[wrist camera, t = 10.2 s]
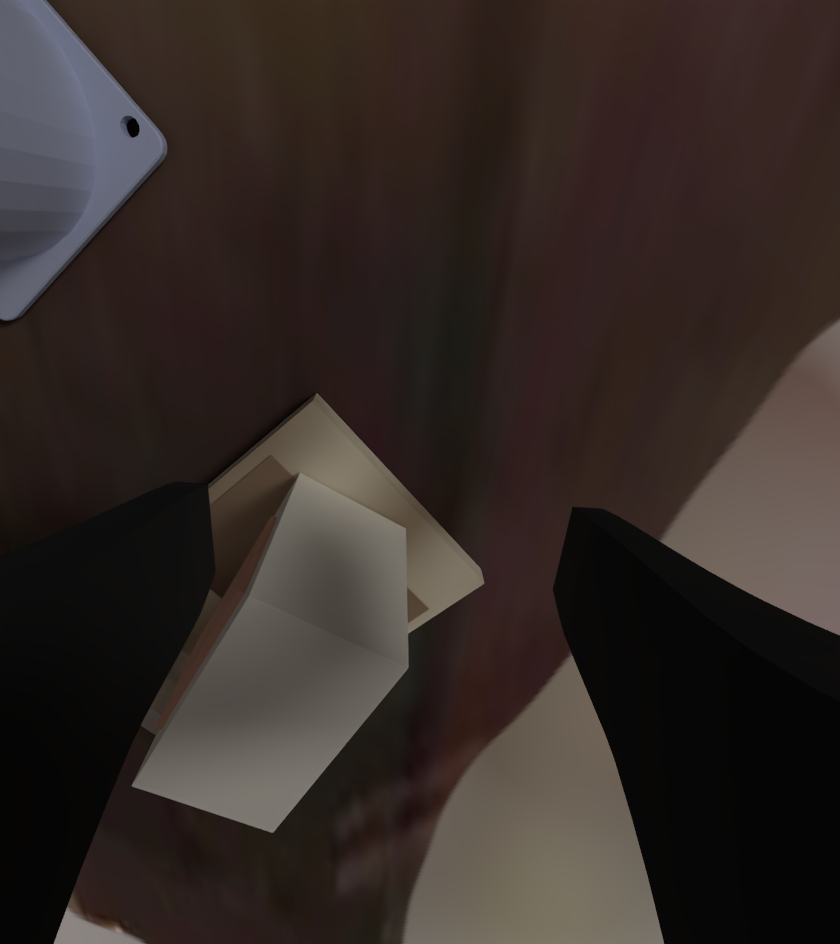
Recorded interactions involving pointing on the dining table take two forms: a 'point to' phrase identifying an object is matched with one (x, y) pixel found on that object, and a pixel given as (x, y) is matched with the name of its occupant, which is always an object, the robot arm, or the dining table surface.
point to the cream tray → (343, 470)
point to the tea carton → (286, 661)
